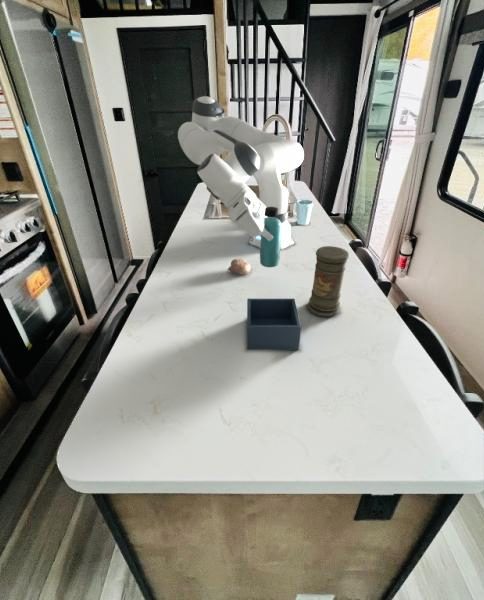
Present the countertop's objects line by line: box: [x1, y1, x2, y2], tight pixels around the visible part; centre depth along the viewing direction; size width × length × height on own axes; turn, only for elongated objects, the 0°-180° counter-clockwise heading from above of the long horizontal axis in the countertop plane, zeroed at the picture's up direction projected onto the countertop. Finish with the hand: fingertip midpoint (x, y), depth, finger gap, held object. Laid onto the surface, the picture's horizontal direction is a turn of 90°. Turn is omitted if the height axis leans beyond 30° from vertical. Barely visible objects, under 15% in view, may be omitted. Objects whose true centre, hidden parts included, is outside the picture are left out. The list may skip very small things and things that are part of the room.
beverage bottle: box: [259, 207, 281, 268], centre depth 101 cm, size 6×7×20 cm
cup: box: [296, 199, 314, 226], centre depth 154 cm, size 8×8×10 cm
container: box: [307, 245, 350, 318], centre depth 89 cm, size 9×9×18 cm
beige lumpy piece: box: [227, 258, 252, 276], centre depth 112 cm, size 8×6×8 cm
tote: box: [246, 298, 302, 351], centre depth 82 cm, size 13×13×7 cm
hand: (272, 235), depth 100 cm, fingers closed on beverage bottle, 5 cm apart
